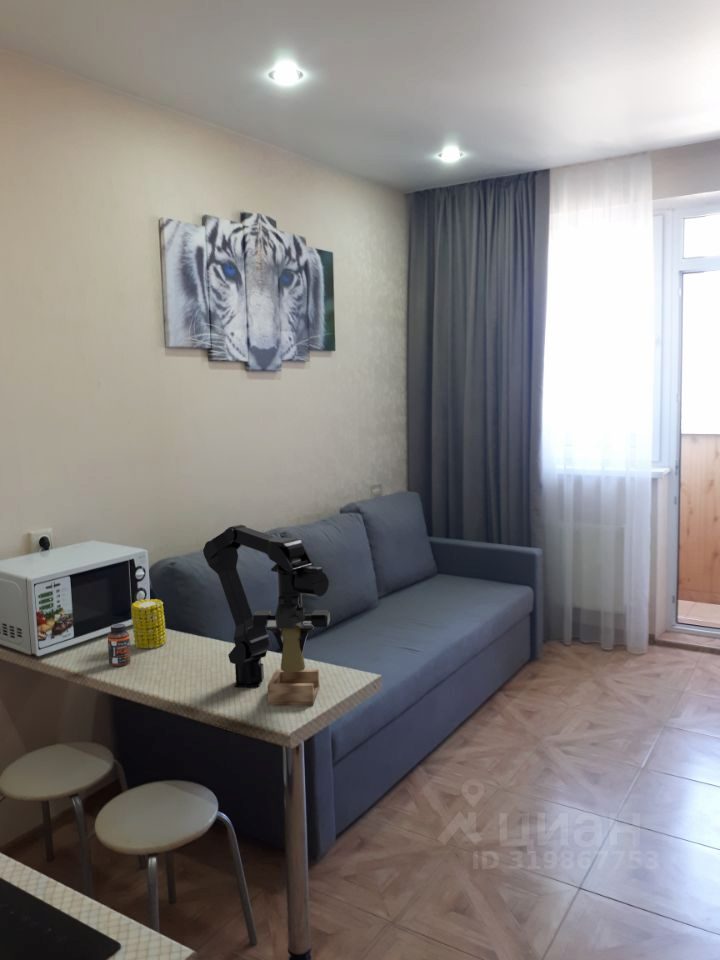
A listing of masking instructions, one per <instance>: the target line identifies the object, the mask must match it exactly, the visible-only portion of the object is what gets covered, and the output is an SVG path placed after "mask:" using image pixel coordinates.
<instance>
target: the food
mask: <svg viewBox="0 0 720 960" xmlns="http://www.w3.org/2000/svg"><path fill="white" fill-rule="evenodd" d="M163 605H164V602H163V601H162V600H161V599H157V598H154V599H148V598H147V599H146V598H145V599H139V600H135V601H134V602H132V604H131V607H130V609H131V617H132V618H131V619H132V623H131V624H132V631H133V638H134V640H133V641H134V644H135V645H134V647H136V648H137V649H154V648H155V649H159V647H162V646H163V645H164V644H166V640H167V634H166V619H165V615H164V614H165V612H164V610H165V609H164V606H163Z"/></svg>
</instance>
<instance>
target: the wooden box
mask: <svg viewBox="0 0 720 960" xmlns="http://www.w3.org/2000/svg"><path fill="white" fill-rule="evenodd" d="M319 671H320V670H319V669H304V670H302V671H298V672H284V671H282V670H281V669H275V671H274V673H273V674H272V675H271V678H270V680H269V682H268V684H267V706H268V707H269V706H270V707H276V706H277V707H279V706H281V707H284V706H285V707H288V706H289V707H291V706H292V707H293V706H294V707H296V706H297V707H298V706H300V707H302V706H303V707H305V706H308V707H311V706H312V707H313V706H314V705H315V701H316V698H317V696H318V694H319V693H318V692H319V690H320V686H321V685H320V672H319ZM271 705H272V706H271Z"/></svg>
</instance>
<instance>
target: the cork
mask: <svg viewBox="0 0 720 960" xmlns="http://www.w3.org/2000/svg"><path fill="white" fill-rule="evenodd" d="M301 628H302V626H301V625H300V624H299V623H297V626H296V627H295V628H294V629H290V628H282V629H281V635H282V637H283V651H282V652H281V660H280V661H281V664H280V670H282V671H284V672H298V671H302V670H306V669H305V668H306V665H305V659H304V652H301V649H300V643H301Z"/></svg>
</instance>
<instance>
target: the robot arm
mask: <svg viewBox="0 0 720 960" xmlns="http://www.w3.org/2000/svg"><path fill="white" fill-rule="evenodd" d="M242 546H244V547H247V548H250V549H252V550H255V551H258V552H261V553H262V554H265V555H267V557H268V559H269V560H270V561H272V562H274V563H275V564H274V566H272V567H271V568H270V571H271V572H274V573H277V585H278V586H277V591H278V598H277V599H278V601H277V602H278V603H277V607H276V610H275V611H276V612H275V614H274V613H273V614H272V611H271V609H269V610H268V609H259V610H258V609H257V610H256V611H255V613H254V614H253V612H252V609H251V607H250V603H249V600H248V598H247V595H246V592H245V589H244V587H243V583H242V581H241V578H240V575H239V572H238V569H237V566H238V560H239V554H238V550H239V549H240V548H241V547H242ZM202 551H203V556H204V558H205V560H206V562H207V564H208V567H210V569H211V570H212V571H214V572H215V574H217V576H218V578H219V582H220V584H221V586H222V589H223V593H224V595H225V597H226V601H227V604H228V607H229V610H230V613H231V616H232V619H233V623H234V624H235V629H234V634H233V641H234V647H233V648H232V650H231V651H230V652H229V653H228V659H229V663H230V664H234V665H235V666H234V667H235V669H234V670H235V683H234V688H235V687H236V688H241V687H242V688H243V687H246V688H247V687H253V688H257V687H260V685H261V683H262V682H263V681H264V679H265V674H264V672H265V671H264V669H265V667H264V663H262V659H263V658H266V657H267V652H268V648H269V646H270V639H269V638H270V635H269V634H268V631H270V632H271V633H272V634H273V635H274V638H275V639H276V642H277V644H278V646H279V649H280V652H281V653H282V651H283V637H282V635H281V629H282V628H290V629H294V628H295V627H296V626H297V624H299V623H302V626H301V637H300V640H301V643H300V649H301V652H303V651H304V648H305V644H306V641H307V637H308V634H309V632H310V631H313V630H314V628H327V627H329V624H330V621H331V613H330V611H329V610H328V609H314V610H313V611H312V613H311V614H310V613H306V609H305V606H303V594H305V595H308V596H309V595H310V596H315V597H322V596H324V595H325V594H326V593H327V591H328V588H329V583H330V582H329V581H330V580H329V578H328V576H327V574H326V573H325V572H323V567H321V566H314V565H315V564H314V562H313V560H312V558H311V557H310V555H309V553H308V551H307V549H306V548H305V547H304V545H303V541H302V540H301V539H299V538H296V537H276V536H272V535H270V534H267V533H264V532H260V531H259V530H256V529H252V528H250V527H247V526H246V525H243V524H237V525H232V526H229V527H228V528H226V529H225V530H224V531H223V532H222V533H220V534H218V535H217V536H215V537H214V538H212V539H211V540H208V541H206V543H205V544H204V547H203V549H202ZM303 653H304V652H303Z"/></svg>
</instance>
